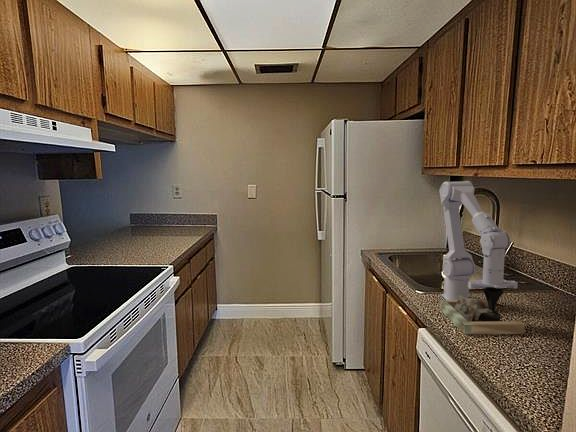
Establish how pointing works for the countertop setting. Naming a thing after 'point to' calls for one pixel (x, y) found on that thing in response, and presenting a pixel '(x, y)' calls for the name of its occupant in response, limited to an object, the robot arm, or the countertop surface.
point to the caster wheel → (475, 310)
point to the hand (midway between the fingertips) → (491, 309)
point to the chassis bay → (479, 327)
